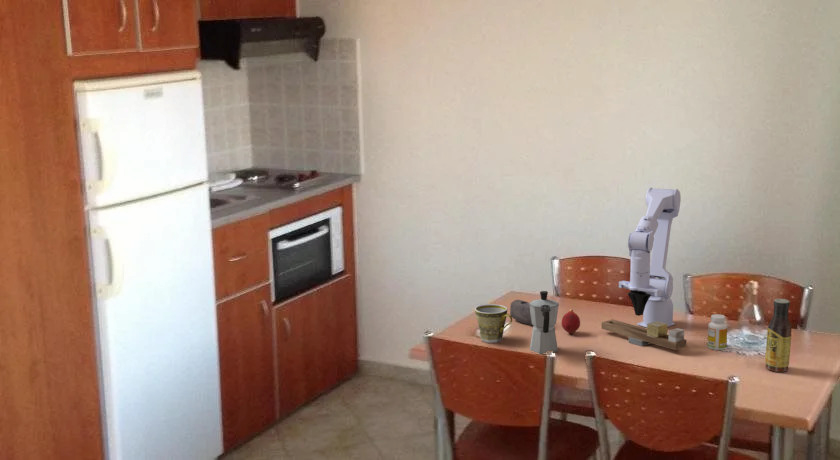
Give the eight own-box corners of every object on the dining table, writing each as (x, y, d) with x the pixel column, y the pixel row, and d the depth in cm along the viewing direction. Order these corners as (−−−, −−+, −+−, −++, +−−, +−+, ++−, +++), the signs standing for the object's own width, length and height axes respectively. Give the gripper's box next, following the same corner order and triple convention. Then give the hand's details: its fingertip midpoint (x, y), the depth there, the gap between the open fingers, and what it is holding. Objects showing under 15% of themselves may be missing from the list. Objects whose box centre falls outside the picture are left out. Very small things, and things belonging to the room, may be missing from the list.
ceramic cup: (468, 340, 294) (468, 309, 292) (489, 332, 301) (488, 302, 299) (501, 348, 285) (501, 316, 283) (521, 340, 292) (521, 309, 290)
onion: (579, 337, 294) (580, 312, 293) (561, 336, 295) (561, 311, 294) (580, 331, 300) (580, 307, 298) (562, 330, 301) (562, 306, 299)
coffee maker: (527, 343, 290) (527, 286, 286) (556, 342, 289) (556, 285, 286) (531, 359, 275) (531, 299, 271) (561, 359, 275) (562, 299, 271)
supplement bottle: (726, 345, 283) (728, 314, 281) (726, 351, 278) (727, 319, 276) (707, 344, 285) (709, 312, 283) (707, 349, 280) (708, 317, 278)
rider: (656, 337, 287) (656, 321, 286) (667, 340, 284) (667, 323, 283) (646, 340, 284) (647, 323, 283) (657, 343, 281) (658, 326, 280)
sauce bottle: (760, 366, 265) (764, 297, 261) (782, 364, 266) (786, 296, 262) (771, 374, 259) (775, 303, 255) (793, 372, 259) (797, 302, 255)
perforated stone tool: (552, 327, 304) (552, 307, 303) (540, 331, 301) (540, 310, 300) (520, 317, 316) (520, 297, 315) (508, 320, 313) (508, 300, 312)
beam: (614, 329, 301) (614, 309, 300) (688, 350, 280) (688, 329, 278) (599, 333, 297) (599, 313, 296) (673, 355, 275) (674, 334, 274)
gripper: (612, 269, 288) (611, 312, 291) (651, 278, 277) (650, 322, 280) (627, 265, 292) (626, 307, 295) (666, 273, 281) (665, 317, 284)
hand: (639, 314), depth 288 cm, fingers closed
